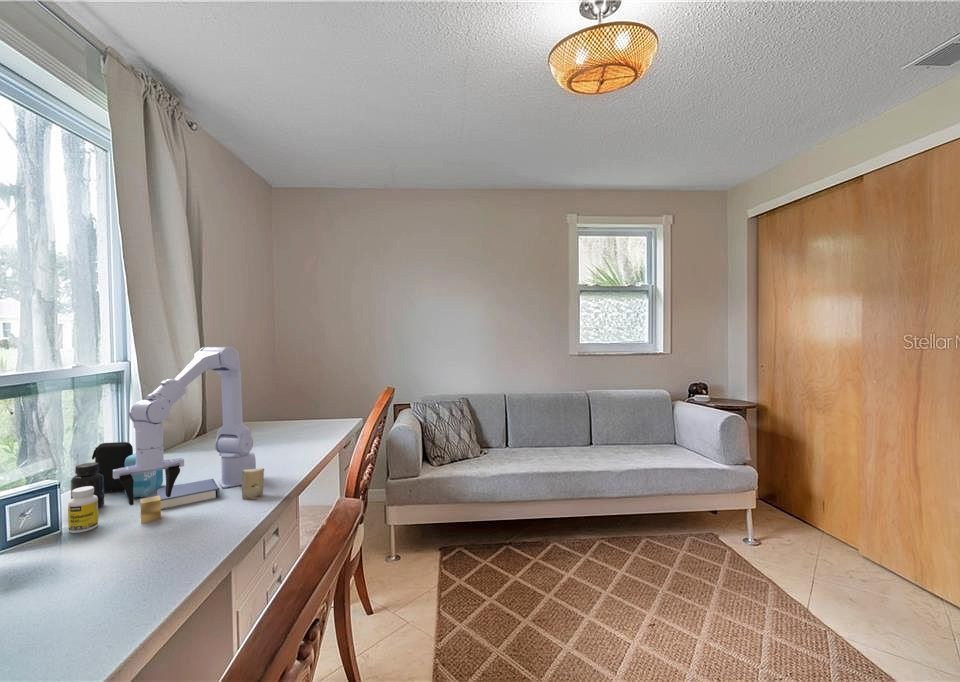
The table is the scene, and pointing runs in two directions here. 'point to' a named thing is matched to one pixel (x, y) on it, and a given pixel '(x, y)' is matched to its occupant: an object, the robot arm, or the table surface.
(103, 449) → the carrying case or bag
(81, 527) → the supplement bottle
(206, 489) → the slate blue book
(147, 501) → the mustard block
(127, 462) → the data package
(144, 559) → the table surface
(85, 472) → the supplement bottle
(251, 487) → the tan upright rounded block
